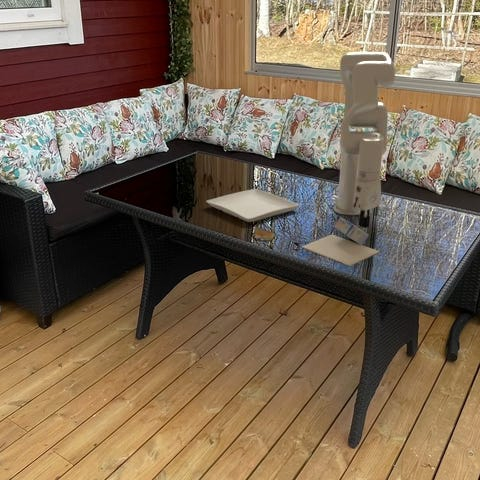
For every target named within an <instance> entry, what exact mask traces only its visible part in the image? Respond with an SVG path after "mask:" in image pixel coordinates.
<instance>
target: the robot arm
mask: <svg viewBox="0 0 480 480" xmlns="http://www.w3.org/2000/svg"><path fill="white" fill-rule="evenodd" d="M339 69H340V70H339V71H340V77H341V81H342V84H343V86H344V115H343V117H342V120H341V125H340V140H339V151H340V165H339V167H340V169H339V183H338V184H339V185H338V195H335V194H334V195H332V197H331V199H330V201H331V202H333V203H335V204H334V206H333V211H334V212H335V213H337V214H340V215H343V216H344V215H346V216H358V227H361V228H364V229H367V228H369V227H370V219H371V216H372V211H373V209H375V208H377V207H378V206H379V205H381V197H382V183H381V182H382V181H381V170H382V162H383V161H382V160H383V156H384V155H385V154H386V152H387V145H388V124H389V123H388V122H389V121H388V119H389V117H388V116H389V115H388V107H387V105H386V104H385V103H384V102H380V101H379V91H378V90H379V89H378V87H391V86H393V83H394V82H395V78H396V77H395V76H396V69H395V65H394V62H393V60H392V58H391V57H390V55H389V53H387V52H384V51H383V52H382V51H352V52H348V53H345V54H343V55H342V56H341V58H340V62H339ZM350 128H357V129H359V128H362V129H363V128H364V129H365V128H368V129H371V128H372V129H373V131H370V130H369V131H368V130H367V131H366V130H363V131H362V130H350Z"/></svg>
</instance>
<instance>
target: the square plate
mask: <svg viewBox="0 0 480 480" xmlns="http://www.w3.org/2000/svg"><path fill="white" fill-rule="evenodd" d="M205 202H206V204H207V203H208V205H209V206H211V207H213V208H215V209H217V210H219V211H221V210H222V211H221V212H224V213H226V214H228V215H231V216H233V217H236V218H237V217H238V219H240V220H242V221H245V222H247V223H252V222H257V221H260V220H264V219H267V218H270V217H273V216H274V217H275V216H277V215H281V214H285V213H288V212H291V211H294V210H295V209H297V208H298V207H300V204H299V203H296V202H295V201H291V200H289V199H287V198H284V197H281V196H279V195H276V194H273V193H270V192H267V191H264V190H261V189H258V188H251V189H247V190H244V191H238V192H233V193H230V194H226V195H222V196H219V197H215V198H212V199H207V200H206V201H205Z"/></svg>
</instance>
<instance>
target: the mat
mask: <svg viewBox="0 0 480 480" xmlns="http://www.w3.org/2000/svg"><path fill="white" fill-rule="evenodd" d="M301 249H304V250H307V251H309V252H312V253H315V254H317V255H320V256H321V257H324V258H327V259H329V258H330V259H329V260H332V259H333V260H332V261H334V260H335V262H337V261H338V262H337V263H339V262H341V263H340V264H342V263H343V265H345V266H347V265H348V267H351V266H353V265H354V266H355V265H356V264H357V263H360V262H362V261H365V260H366V259H368V258H371V257H373V256H375V255H377V254H379V253H380V251H379V250H376V249H374V248H371V247H368V246H365V245H363V244H362V245H361V244H359V243H357V242H356V241H351V240H349V239H347V238H346V239H345V238H343V237H341V236H338V235H334V234H329V235H326V236H325V237H322V238H320V239H317V240H315V241H311V242H309V243H307V244H304V245H302V246H301Z"/></svg>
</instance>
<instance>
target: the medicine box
mask: <svg viewBox="0 0 480 480" xmlns="http://www.w3.org/2000/svg"><path fill="white" fill-rule="evenodd" d="M334 229H336V230H337V231H338V232H340V233H341V234H343V235H345V236H346V237H347V238H349V239H351V240H353V242H355V243H357V244H360V245H363V244H364V243H365V242H366V240H367V239H368V237H369V236H370V235H369V233H367V232H365V230H362V229H361V228H359V226H357V225H355V224H354V223H352V222H350V221H349V220H347V219H345V218H344V217H342V216H340V217H339V219H338V220H337V221H336V223H335V225H334Z"/></svg>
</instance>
